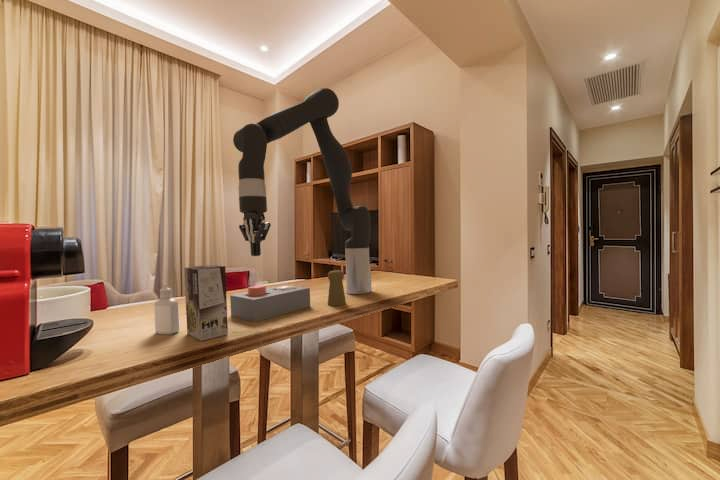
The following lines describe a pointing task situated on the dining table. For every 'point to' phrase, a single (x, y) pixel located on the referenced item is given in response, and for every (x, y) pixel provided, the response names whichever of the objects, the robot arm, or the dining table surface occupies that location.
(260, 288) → the red plunger
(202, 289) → the coffee box
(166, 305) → the eye dropper bottle
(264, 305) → the console
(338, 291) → the cork
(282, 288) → the white rounded block
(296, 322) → the dining table surface
